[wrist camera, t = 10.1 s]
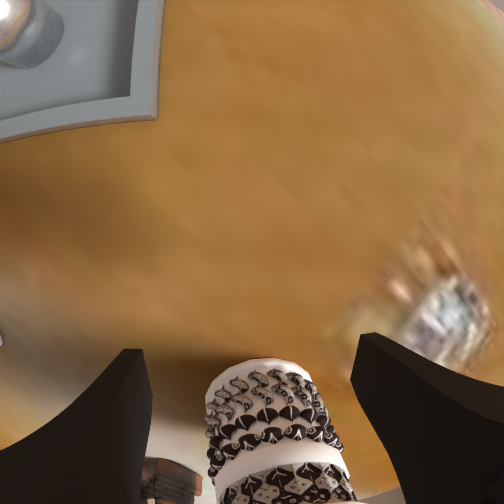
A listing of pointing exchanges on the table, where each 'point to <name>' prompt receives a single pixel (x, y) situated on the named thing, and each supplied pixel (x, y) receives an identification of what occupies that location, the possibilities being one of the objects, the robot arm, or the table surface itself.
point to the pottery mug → (169, 484)
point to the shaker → (28, 32)
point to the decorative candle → (273, 438)
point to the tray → (88, 71)
